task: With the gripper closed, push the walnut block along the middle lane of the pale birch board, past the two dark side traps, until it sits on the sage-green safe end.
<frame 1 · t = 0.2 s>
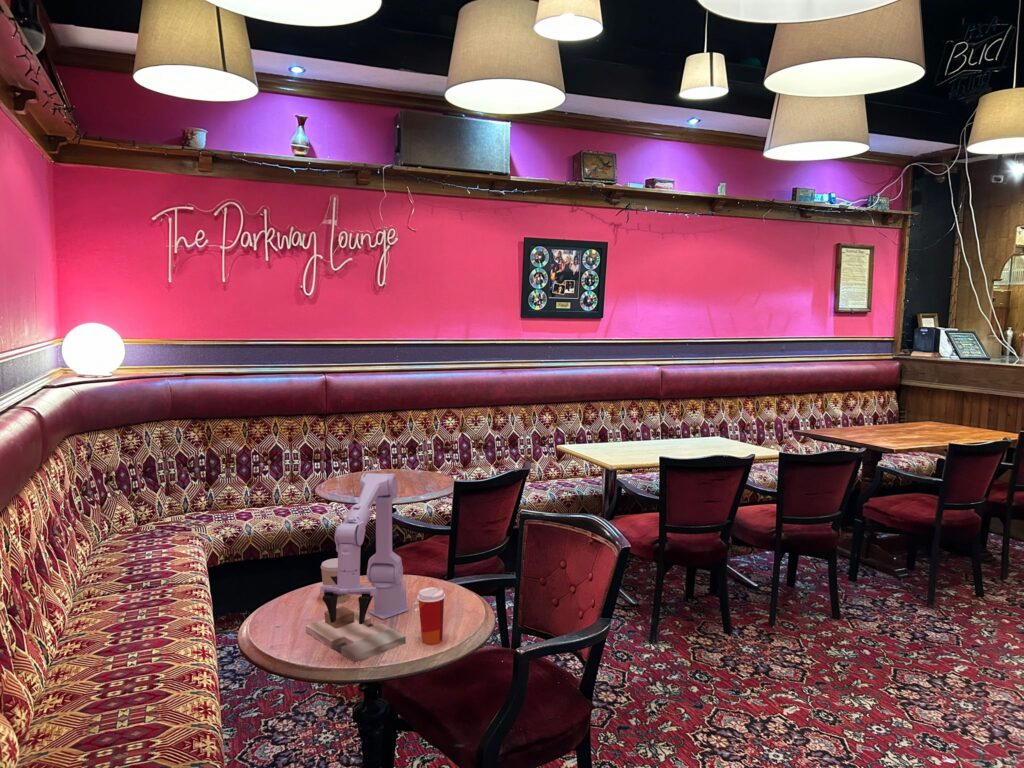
hand: (347, 622, 188), 11 cm above the table, tool pointing down, fingers open, 7 cm apart
walnut block: (339, 622, 209), point 2 cm above the table, touching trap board
paper cup: (431, 641, 201), on the table
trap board: (355, 637, 203), on the table
coffee cup: (337, 599, 231), on the table
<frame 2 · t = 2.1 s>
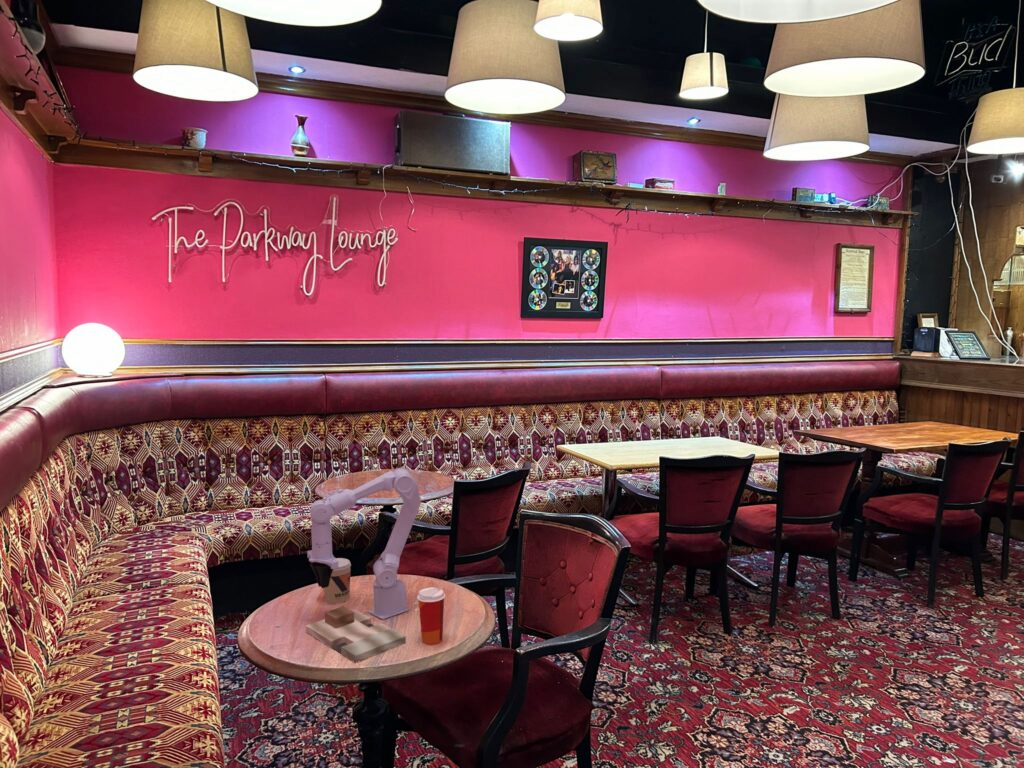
hand: (323, 586, 214), 10 cm above the table, tool pointing down, fingers closed
nothing on the table moved.
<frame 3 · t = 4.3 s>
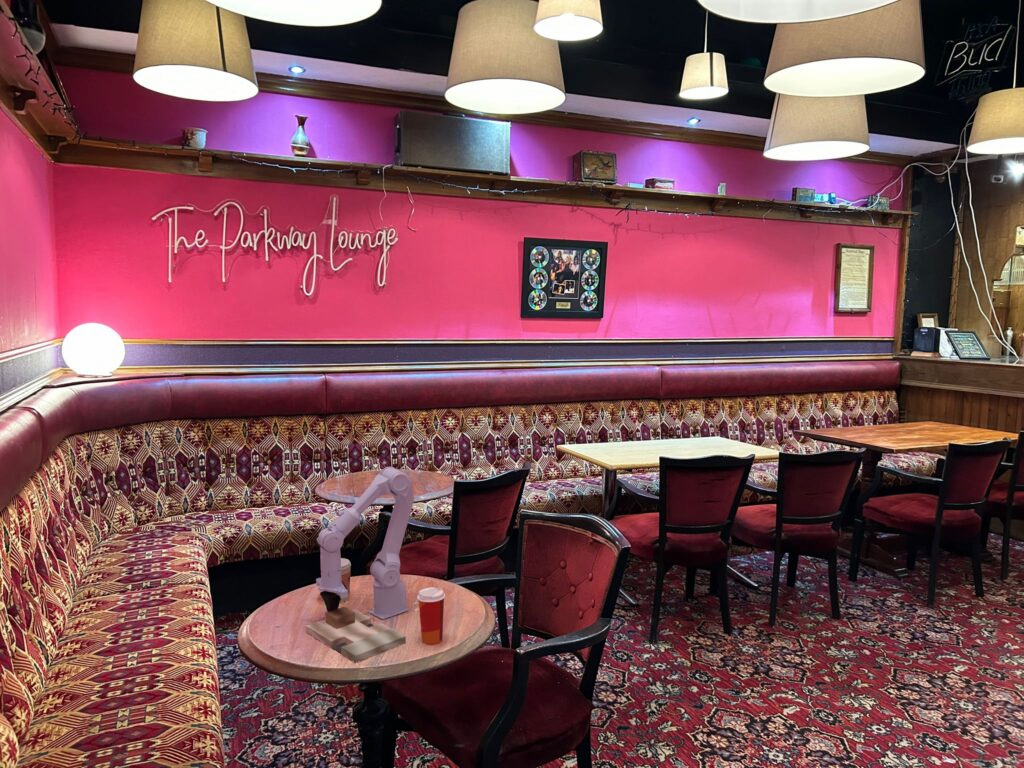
hand: (332, 615, 211), 3 cm above the table, tool pointing down, fingers closed
walnut block: (340, 622, 208), point 2 cm above the table, touching gripper, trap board
everything else where it was.
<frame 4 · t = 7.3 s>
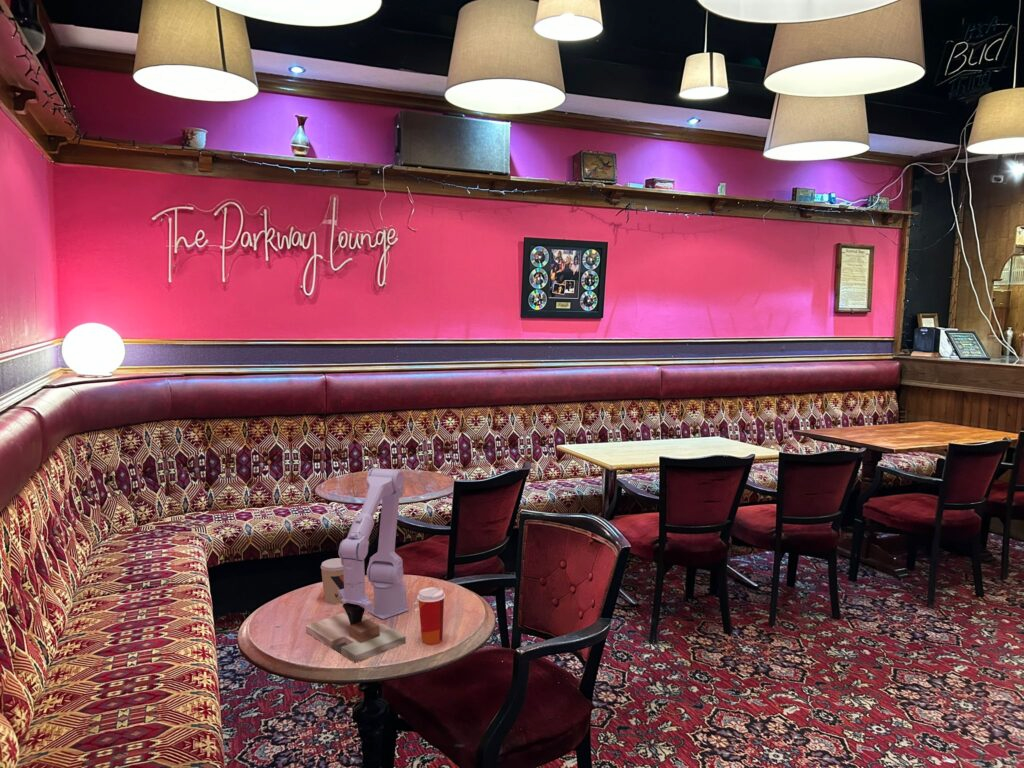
hand: (355, 628, 202), 3 cm above the table, tool pointing down, fingers closed
walnut block: (364, 636, 200), point 2 cm above the table, touching gripper
everything else where it was.
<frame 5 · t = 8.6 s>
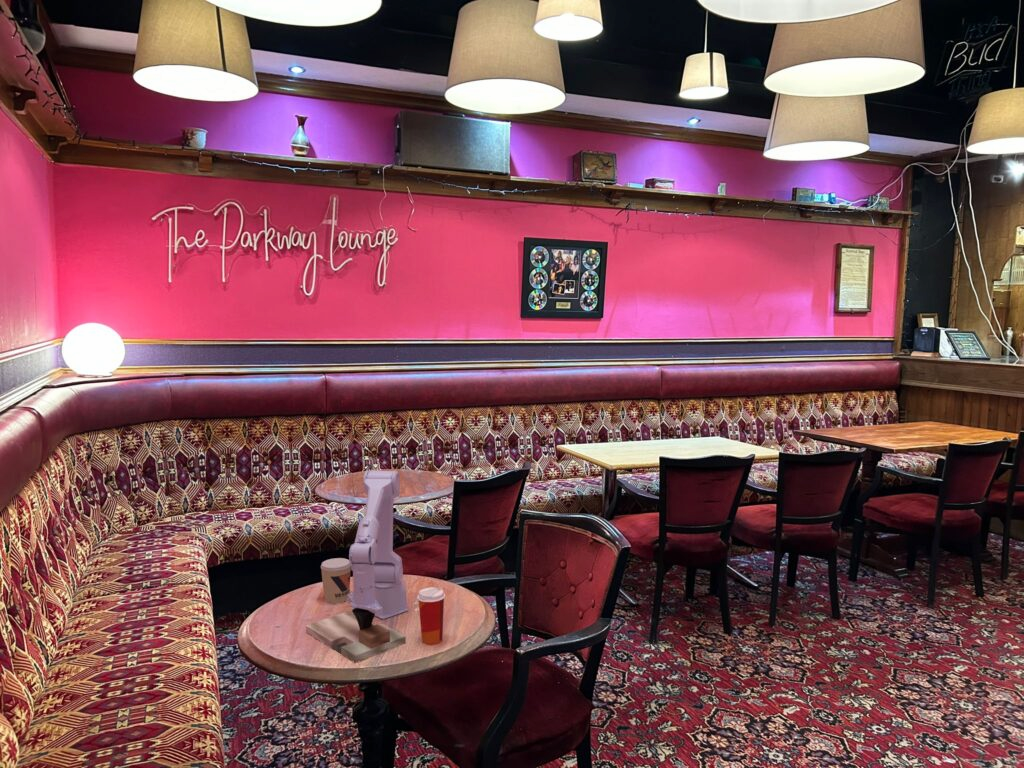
hand: (365, 633, 199), 3 cm above the table, tool pointing down, fingers closed
walnut block: (374, 641, 196), point 2 cm above the table, touching gripper, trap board
everything else where it was.
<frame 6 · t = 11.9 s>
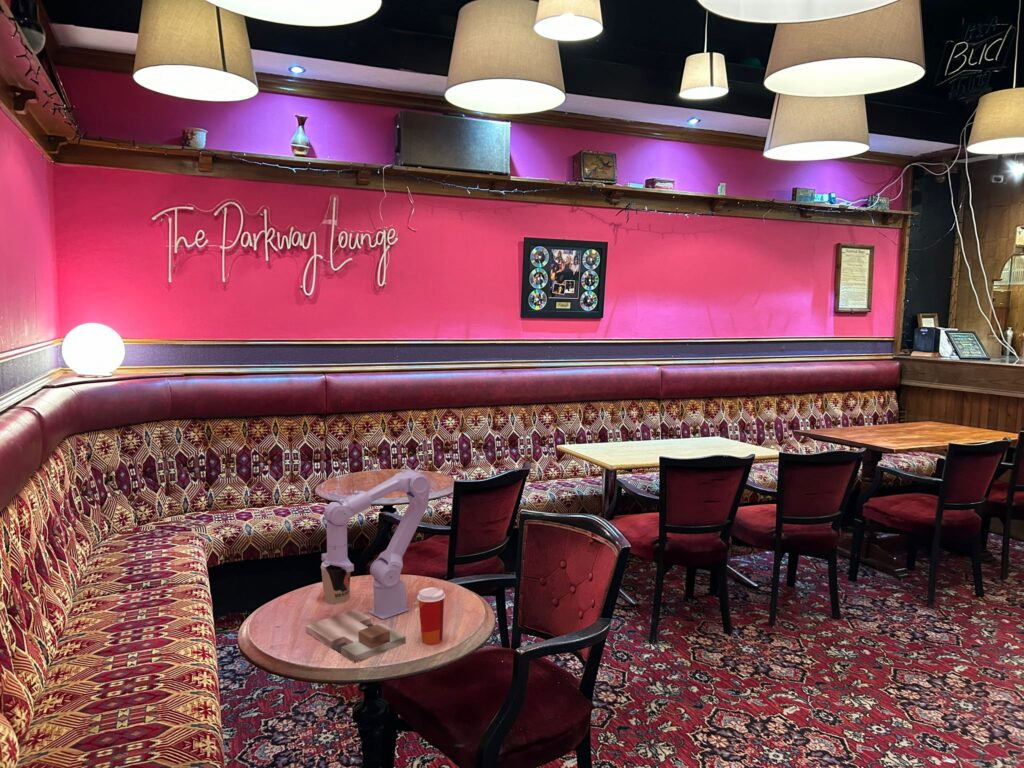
hand: (337, 589, 211), 10 cm above the table, tool pointing down, fingers closed
walnut block: (374, 641, 196), point 2 cm above the table, touching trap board
everything else where it was.
at the end: walnut block inside the target area (0.3 cm from its centre), point 2.0 cm above the table; walnut block tilted 0° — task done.
